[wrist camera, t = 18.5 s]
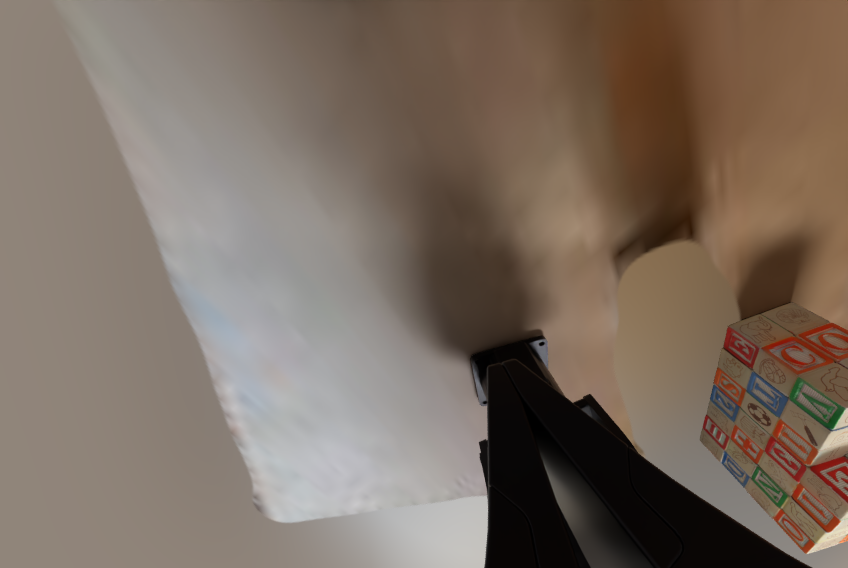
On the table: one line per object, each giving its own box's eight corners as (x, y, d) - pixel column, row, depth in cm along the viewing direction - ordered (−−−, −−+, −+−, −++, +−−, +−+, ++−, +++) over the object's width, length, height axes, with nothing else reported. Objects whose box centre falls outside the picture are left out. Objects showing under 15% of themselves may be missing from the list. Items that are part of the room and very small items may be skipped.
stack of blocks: (723, 324, 30) (908, 449, 20) (791, 299, 30) (1013, 414, 20) (698, 440, 42) (807, 558, 32) (746, 423, 42) (872, 537, 31)
